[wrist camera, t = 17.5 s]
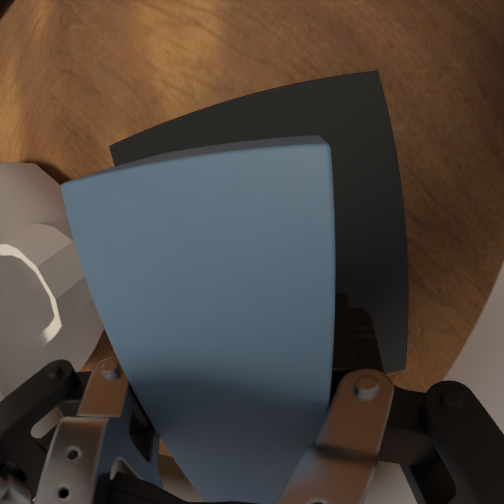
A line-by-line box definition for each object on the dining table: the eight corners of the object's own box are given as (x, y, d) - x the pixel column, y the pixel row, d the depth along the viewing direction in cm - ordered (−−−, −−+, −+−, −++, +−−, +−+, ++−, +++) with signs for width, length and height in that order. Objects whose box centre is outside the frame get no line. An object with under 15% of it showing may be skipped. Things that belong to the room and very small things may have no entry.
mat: (375, 71, 12) (377, 70, 11) (404, 365, 18) (405, 369, 17) (112, 145, 15) (108, 146, 15) (207, 385, 22) (205, 388, 21)
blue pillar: (319, 445, 13) (320, 134, 8) (312, 521, 9) (330, 142, 4) (233, 440, 14) (165, 153, 9) (211, 511, 10) (58, 184, 4)
